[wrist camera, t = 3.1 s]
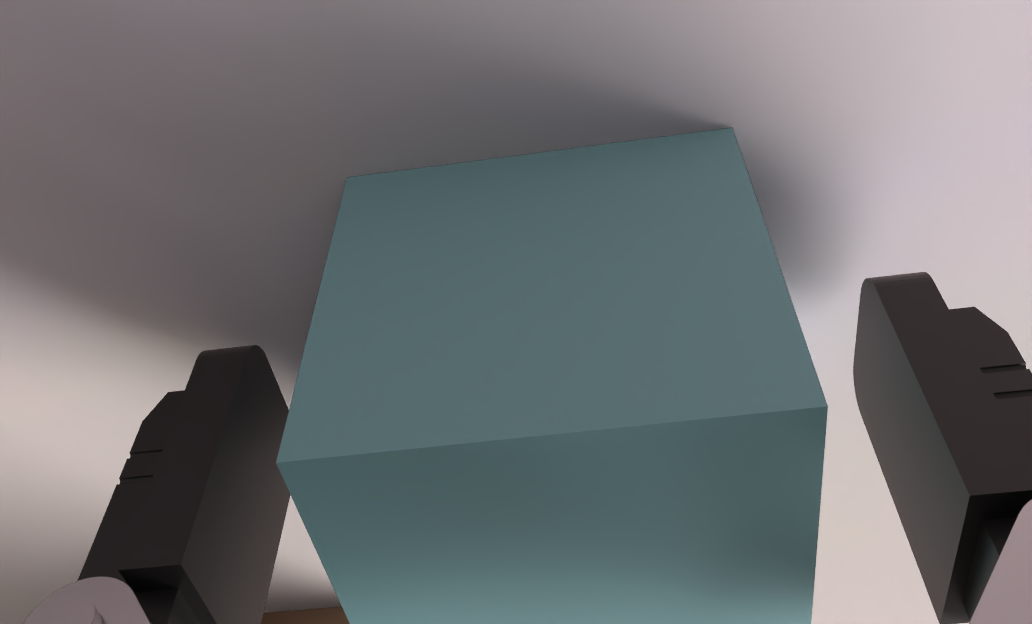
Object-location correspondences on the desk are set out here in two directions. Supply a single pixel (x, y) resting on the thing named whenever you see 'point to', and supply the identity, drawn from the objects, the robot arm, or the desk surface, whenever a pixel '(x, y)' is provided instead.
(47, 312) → the desk surface
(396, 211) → the teal block
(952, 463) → the robot arm
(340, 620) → the tower base block
